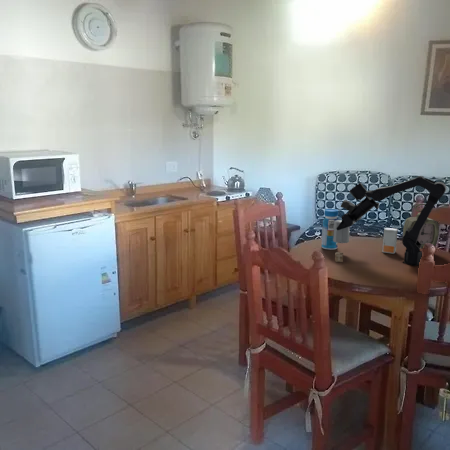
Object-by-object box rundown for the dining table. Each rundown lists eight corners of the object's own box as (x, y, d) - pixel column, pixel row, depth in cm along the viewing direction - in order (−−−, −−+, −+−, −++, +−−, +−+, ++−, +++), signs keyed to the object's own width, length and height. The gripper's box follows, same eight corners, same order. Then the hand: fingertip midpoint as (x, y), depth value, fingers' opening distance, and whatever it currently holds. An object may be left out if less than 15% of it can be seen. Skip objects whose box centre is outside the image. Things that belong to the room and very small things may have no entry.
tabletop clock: (407, 255, 226) (411, 205, 221) (399, 250, 235) (404, 201, 230) (436, 255, 227) (441, 205, 222) (427, 250, 236) (432, 201, 231)
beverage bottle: (317, 247, 240) (319, 209, 236) (327, 244, 245) (329, 207, 241) (331, 250, 234) (333, 212, 230) (341, 248, 239) (343, 210, 235)
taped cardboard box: (334, 259, 219) (335, 251, 218) (342, 260, 218) (343, 252, 217) (334, 261, 215) (335, 253, 214) (342, 262, 214) (343, 254, 214)
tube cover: (351, 242, 225) (352, 222, 223) (337, 243, 223) (338, 223, 221) (344, 239, 232) (345, 219, 229) (331, 240, 230) (332, 220, 228)
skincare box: (381, 252, 231) (383, 229, 229) (383, 250, 235) (385, 227, 233) (394, 254, 229) (396, 230, 226) (395, 252, 232) (397, 228, 230)
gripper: (356, 192, 229) (333, 212, 236) (346, 197, 213) (322, 218, 220) (371, 209, 227) (347, 229, 234) (363, 215, 211) (338, 236, 218)
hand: (338, 228), depth 227 cm, fingers closed on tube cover, 7 cm apart
